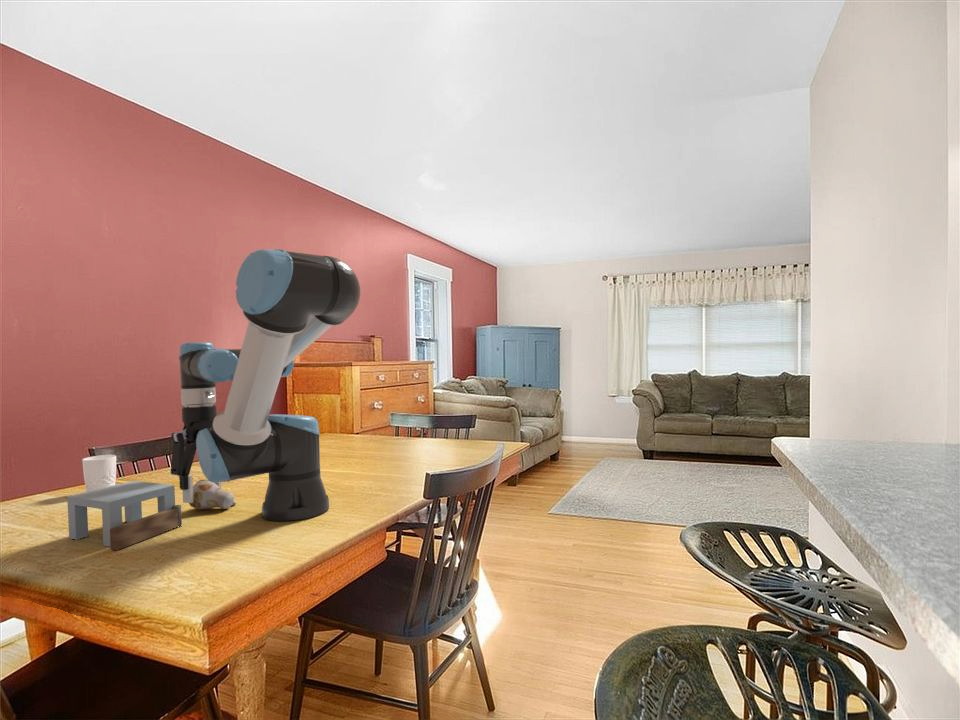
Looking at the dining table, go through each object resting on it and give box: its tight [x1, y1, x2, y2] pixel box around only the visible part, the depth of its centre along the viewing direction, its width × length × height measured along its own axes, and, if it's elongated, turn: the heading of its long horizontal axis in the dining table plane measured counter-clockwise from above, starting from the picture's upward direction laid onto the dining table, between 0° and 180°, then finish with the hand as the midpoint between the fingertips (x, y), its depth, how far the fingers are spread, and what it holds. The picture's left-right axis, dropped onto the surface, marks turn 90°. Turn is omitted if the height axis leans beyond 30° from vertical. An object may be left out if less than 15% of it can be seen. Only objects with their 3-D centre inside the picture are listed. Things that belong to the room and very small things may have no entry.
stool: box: [66, 480, 176, 548], centre depth 116 cm, size 14×14×9 cm
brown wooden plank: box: [110, 504, 183, 551], centre depth 112 cm, size 15×2×5 cm, turn 162°
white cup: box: [81, 454, 117, 492], centre depth 151 cm, size 8×8×10 cm
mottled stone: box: [188, 479, 237, 510], centre depth 131 cm, size 8×10×10 cm
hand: (202, 497), depth 131 cm, fingers closed on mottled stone, 7 cm apart
